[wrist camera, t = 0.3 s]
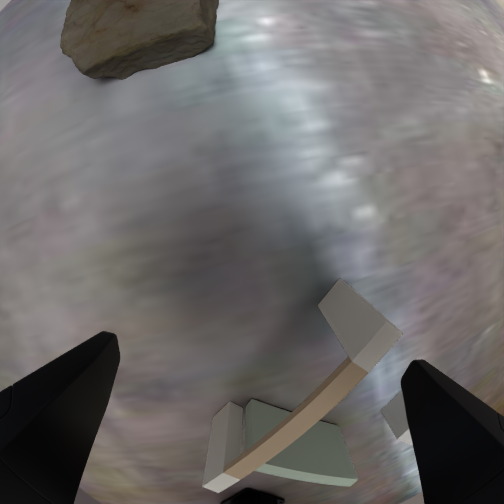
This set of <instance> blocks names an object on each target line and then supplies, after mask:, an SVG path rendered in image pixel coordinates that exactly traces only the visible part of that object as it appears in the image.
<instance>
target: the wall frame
mask: <svg viewBox="0 0 504 504" xmlns="http://www.w3.org/2000/svg"><path fill="white" fill-rule="evenodd" d="M317 306H318V307H319V309H320V311H321V312H322V314H323V315H324V317H325V319H326V320H327V322H328V323H329V325H330V327H331V328H332V330H333V332H334V333H335V335H336V336H337V338H338V340H339V341H340V343H341V345H342V346H343V348H344V349H345V351H346V353H347V354H348V357H347V358H346V359H345V361H344V362H343V363H342V364H341V365H340V366H339V367H338V368H337V369H336V370H335V371H334V372H333V373H332V374H331V375H330V376H329V377H328V378H327V379H326V380H325V381H324V382H323V383H322V384H321V385H320V386H319V387H318V388H317V389H316V390H315V391H314V392H313V393H312V394H311V395H310V396H309V397H308V398H307V399H306V400H305V401H304V402H303V403H301V404H300V405H299V406H298V407H297V408H296V409H295V410H294V411H293V412H292V413H291V414H289V415H288V416H287V417H286V418H285V419H284V420H283V421H281V422H280V423H279V424H278V425H277V426H276V427H274V428H273V429H272V430H271V431H270V432H268V433H267V434H266V435H265V436H264V437H262V438H261V439H260V440H259V441H257V442H256V443H255V444H254V445H252V446H251V447H250V448H249V449H247V450H246V451H245V452H243V453H242V454H241V447H242V416H243V408H242V407H240V406H238V405H236V404H235V403H233V402H231V401H229V402H228V403H227V404H226V405H225V406H224V407H223V408H222V409H221V410H220V411H219V412H218V413H217V414H216V415H215V416H214V417H213V420H212V427H211V433H210V439H209V445H208V452H207V458H206V464H205V471H204V477H203V484H202V487H204V488H207V489H209V490H212V491H214V492H217V493H220V492H221V491H223V490H225V489H226V488H228V487H230V486H231V485H233V484H234V483H236V482H238V481H239V480H241V479H242V478H244V477H245V476H247V475H248V474H250V473H251V472H253V471H254V470H256V469H257V468H259V467H260V466H262V465H263V464H264V463H266V462H267V461H269V460H270V459H271V458H273V457H274V456H276V455H277V454H278V453H280V452H281V451H282V450H284V449H285V448H286V447H287V446H289V445H290V444H291V443H293V442H294V441H295V440H296V439H298V438H299V437H300V436H301V435H302V434H304V433H305V432H306V431H307V430H309V429H310V428H311V427H312V426H313V425H314V424H316V423H317V422H318V421H319V420H320V419H321V418H322V417H324V416H325V415H326V414H327V413H328V412H329V411H330V410H331V409H332V408H334V407H335V406H336V405H337V404H338V403H339V402H340V401H341V400H342V399H343V398H344V397H345V396H346V395H347V394H348V393H349V392H350V391H351V390H352V389H353V388H354V387H355V386H356V385H357V384H358V383H359V382H360V381H361V380H362V379H363V378H364V377H365V376H366V375H367V374H368V373H369V372H370V371H371V370H372V369H373V368H374V366H375V365H376V364H377V363H378V362H379V361H380V360H381V359H382V358H383V357H384V355H385V354H386V353H387V352H388V351H389V350H390V348H391V347H392V346H393V345H394V344H395V343H396V341H397V340H398V339H399V338H400V337H401V335H402V334H403V333H402V332H401V331H400V330H399V329H397V328H396V327H395V326H394V325H393V324H392V323H391V322H390V321H389V320H388V319H387V318H385V317H384V316H383V315H382V314H381V313H380V312H379V311H378V310H377V309H375V308H374V307H373V306H372V305H371V304H370V303H369V302H368V301H367V300H365V299H364V298H363V297H362V296H361V295H360V294H359V293H358V292H356V291H355V290H354V289H353V288H352V287H351V286H349V285H348V284H347V283H346V282H344V281H343V280H342V279H341V278H339V280H338V281H337V282H336V283H335V285H334V286H333V287H332V288H331V290H330V291H329V292H328V293H327V294H326V296H325V297H324V298H323V299H322V301H321V302H320V303H319V304H318V305H317Z"/></svg>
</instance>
